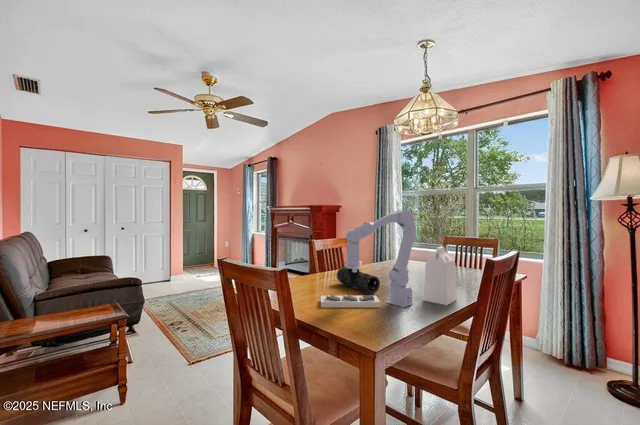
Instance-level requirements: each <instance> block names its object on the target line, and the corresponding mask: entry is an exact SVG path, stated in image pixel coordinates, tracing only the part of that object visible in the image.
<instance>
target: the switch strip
mask: <svg viewBox="0 0 640 425" xmlns="http://www.w3.org/2000/svg"><path fill="white" fill-rule="evenodd" d="M334 296H335V297H339V301H332V300H329V299H326V295H320V308H381V300H380V299H379V298H378V296H377V295H373V297H374V299H372V300H368V301H361V300H360V297H364V296H365V295H351V296H352V297H356V299H357V301H350V300H346V299H344V298H343V295H334Z"/></svg>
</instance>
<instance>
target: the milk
mask: <svg viewBox="0 0 640 425" xmlns="http://www.w3.org/2000/svg"><path fill="white" fill-rule="evenodd" d="M456 269H457V268H456V262H455V261H454V259H453V258H452V257H451V256H450V255H449V254H448V253H447V252H446V248H445V246H439V247H436V252H435V254H433V256H431V257H430V258H429V259H427V260H426V263H425V269H424V270H425V271H424V283H423V284H424V285H423V298H422V299H423V301H425V302H428V303H429V302H430V303H434V304H438V303H439V305H442V304H443V305H442V306H448V304H449V305H451V304H452V303H454V302H455V301H457V272H456Z"/></svg>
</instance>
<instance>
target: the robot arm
mask: <svg viewBox="0 0 640 425" xmlns="http://www.w3.org/2000/svg"><path fill="white" fill-rule="evenodd" d="M390 223H395V224H398V225H399V226H400V227H401V229H402V230H403V235H402V238H401V240H400V247H399V250H398V253H397V258H396V261H395V263H394V265H393V266H392V269H391V270H390V272H389V273H388V276H389V279H390V280H391V282H390V300H388V301H386V303H387V304H390V305H393V306H396V307H400V308H406V307H409V306H411V305H414V303H413V289H412V287H410V286H408V285H407V284H408V283H409V269H408V268H409V267H408V264H409V260H410V257H411V252H412V250H413V249H412V248H413V245H414V240H415V237H416V233H417V227H416V223H415V216H414V215H413V214H412V212H411V211H409V210H400V209H397V210H395V211H393V212H390V213H388V214H386V215H385V216H382V217H380V218H378V219H377V220H375V221H373V222H371V221H363V224H361V225H359V226H355V227H354V229H348V231H347V232H346V235H345V239H346V240H347V242H346V264H344V266H343V267H347V268H350V269H347V271H348V274H349V279H350V284H351V285H355V284H356V279H357V276H358V274H359V272H360V269H359V268H360V266H361V265H360V241H361V240H362V239H364V238H366V237H368V236H370V235H372V234H374V233H375V232H376V229H379V228H381V227H383V226H385V225H388V224H390Z"/></svg>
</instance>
